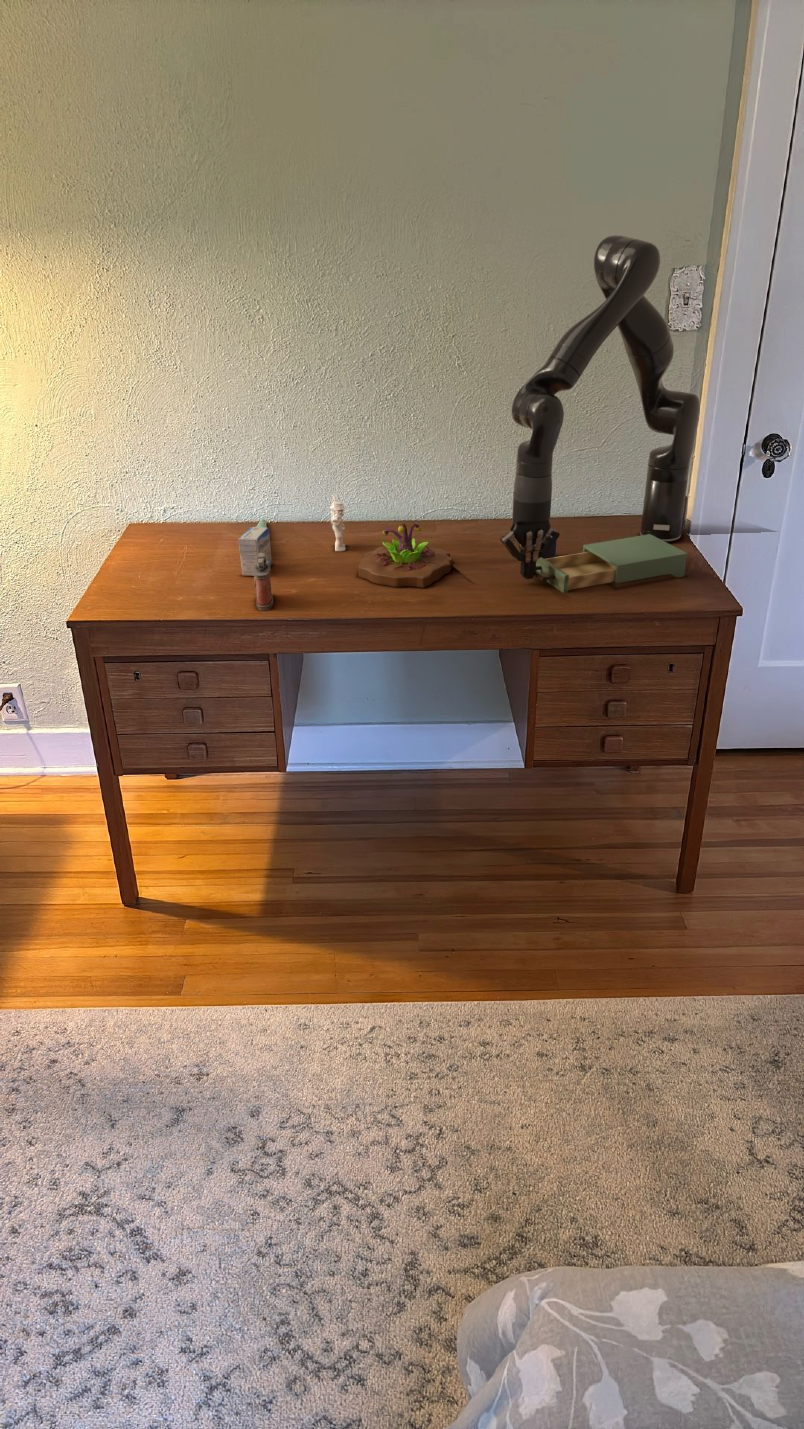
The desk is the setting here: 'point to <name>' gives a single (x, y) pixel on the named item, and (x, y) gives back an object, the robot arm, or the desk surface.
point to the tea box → (551, 552)
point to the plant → (405, 562)
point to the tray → (575, 571)
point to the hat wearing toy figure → (338, 523)
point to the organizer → (640, 557)
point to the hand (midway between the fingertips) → (527, 577)
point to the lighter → (263, 583)
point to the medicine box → (254, 548)
